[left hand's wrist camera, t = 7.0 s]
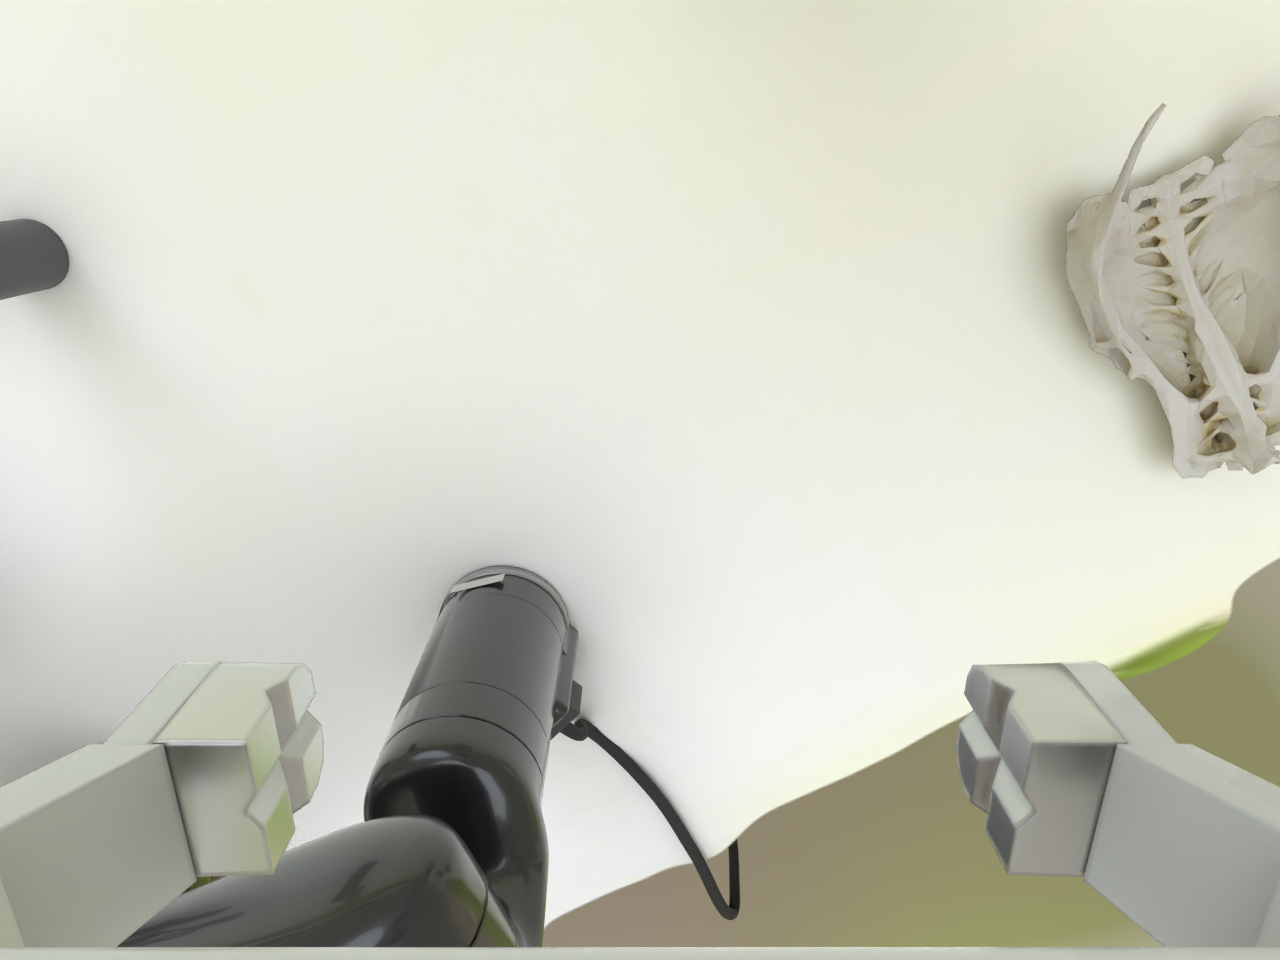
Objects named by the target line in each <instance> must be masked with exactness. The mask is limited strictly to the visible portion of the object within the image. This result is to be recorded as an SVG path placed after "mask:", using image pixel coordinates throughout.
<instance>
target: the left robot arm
mask: <svg viewBox="0 0 1280 960" xmlns="http://www.w3.org/2000/svg"><path fill="white" fill-rule="evenodd" d="M315 694H316V692H315V687H314V682H313V677H312V672H311V670H310V669H309V668H308V667H307V666H306V665H305V664H293V663H245V662H225V663H222V662H184V663H180V664H176V665H174V666H173V667H172V668H171V669H170V671H169V672H168V673H167V674H166V675H165V676H164V677H163V678H162V679H161V680H160V682H159V683H158V684H157V685H156V686H155V687H154V688H153V689H152V690H151V691H150V693H149V694H148V695H147V696H146V697H145V698H144V699H143V700H142V701H141V702H140V704H139V705H138V706H137V707H136V708H135V709H134V710H133V711H132V712H131V713H130V715H129V716H128V717H127V718H126V719H125V720H124V721H123V722H122V723H121V724H120V726H119V727H118V728H117V729H116V730H115V731H114V732H113V733H112V734H111V735H110V737H109V738H108V739H107V740H106V741H105V742H104V743H103V744H88V745H86V746H84V747H82V748H80V749H78V750H76V751H74V752H72V753H70V754H68V755H66V756H64V757H61V758H59V759H57V760H55V761H53V762H51V763H49V764H47V765H45V766H43V767H41V768H39V769H37V770H35V771H33V772H30V773H28V774H26V775H24V776H22V777H20V778H18V779H16V780H14V781H12V782H10V783H8V784H6V785H4V786H2V787H0V960H1280V787H1278V786H1276V785H1274V784H1272V783H1270V782H1268V781H1266V780H1264V779H1262V778H1260V777H1258V776H1255V775H1253V774H1251V773H1249V772H1247V771H1245V770H1243V769H1241V768H1239V767H1237V766H1235V765H1233V764H1231V763H1229V762H1227V761H1225V760H1223V759H1221V758H1218V757H1216V756H1214V755H1212V754H1210V753H1208V752H1206V751H1204V750H1202V749H1200V748H1198V747H1196V746H1194V745H1192V744H1177V743H1176V742H1175V741H1174V740H1173V739H1172V738H1171V737H1170V735H1169V734H1168V733H1167V732H1166V731H1165V730H1164V729H1163V728H1162V727H1161V726H1160V724H1159V723H1158V722H1157V721H1156V720H1155V719H1154V718H1153V717H1152V716H1151V715H1150V713H1149V712H1148V711H1147V710H1146V709H1145V708H1144V707H1143V706H1142V705H1141V704H1140V702H1139V701H1138V700H1137V699H1136V698H1135V697H1134V696H1133V695H1132V694H1131V693H1130V691H1129V690H1128V689H1127V688H1126V687H1125V686H1124V685H1123V684H1122V683H1121V682H1120V680H1119V679H1118V678H1117V677H1116V676H1115V675H1114V674H1113V673H1112V672H1111V670H1110V669H1109V668H1108V667H1107V666H1105V665H1103V664H1101V663H1099V662H1096V661H1090V662H1062V663H1045V664H997V665H972V667H971V670H970V672H969V674H968V676H967V681H966V686H965V692H964V694H965V696H966V698H967V700H968V701H969V703H970V705H971V706H972V708H973V711H972V712H971V713H970V714H969V715H968V716H967V717H966V718H965V719H964V720H963V721H962V722H961V723H960V724H959V729H958V737H957V745H956V750H957V762H958V771H959V774H960V778H961V781H962V785H963V788H964V790H965V792H966V794H967V796H968V798H969V800H970V802H971V803H972V804H974V805H975V806H977V807H978V808H979V809H981V810H982V811H984V812H985V813H987V820H986V826H985V832H986V834H987V836H988V838H989V840H990V842H991V844H992V846H993V848H994V849H995V851H996V853H997V855H998V857H999V859H1000V861H1001V863H1002V865H1003V867H1004V869H1005V871H1006V873H1007V874H1008V875H1034V876H1070V877H1084V878H1083V881H1084V882H1086V883H1087V884H1088V885H1089V886H1091V887H1092V888H1093V889H1094V890H1095V891H1097V892H1098V893H1099V894H1100V895H1101V896H1103V897H1104V898H1105V899H1106V900H1107V901H1109V902H1110V903H1111V904H1112V905H1114V906H1115V907H1116V908H1117V909H1118V910H1120V911H1121V912H1122V913H1123V914H1125V915H1126V916H1127V917H1128V918H1129V919H1131V920H1132V921H1133V922H1134V923H1135V924H1137V925H1138V926H1139V927H1140V928H1141V929H1143V930H1144V931H1145V932H1146V933H1148V934H1149V935H1150V936H1151V937H1152V938H1154V939H1155V940H1156V941H1157V942H1158V943H1160V944H1161V945H1162V946H1163V947H117V946H118V945H119V944H121V943H122V942H123V941H124V940H125V939H127V938H128V937H129V936H130V935H132V934H133V933H134V932H135V931H136V930H138V929H139V928H140V927H141V926H142V925H144V924H145V923H146V922H147V921H149V920H150V919H151V918H152V917H153V916H155V915H156V914H157V913H158V912H159V911H161V910H162V909H163V908H164V907H166V906H167V905H168V904H169V903H170V902H172V901H173V900H174V899H175V898H177V897H178V896H179V895H180V894H181V893H183V892H184V891H185V890H186V889H187V888H189V887H190V886H191V885H192V884H194V883H195V882H196V881H197V879H196V877H210V876H245V875H273V873H274V871H275V869H276V867H277V865H278V863H279V861H280V859H281V857H282V855H283V853H284V852H285V850H286V848H287V846H288V844H289V842H290V840H291V838H292V836H293V834H294V832H295V826H294V820H293V813H295V812H296V811H298V810H299V809H301V808H302V807H303V806H305V805H306V804H308V803H309V802H310V800H311V798H312V796H313V794H314V792H315V790H316V787H317V785H318V782H319V778H320V773H321V768H322V764H323V735H322V729H321V724H320V723H319V722H318V721H317V720H316V719H315V718H314V717H313V716H312V715H311V714H310V713H309V712H308V711H307V708H308V706H309V705H310V703H311V701H312V700H313V698H314V696H315Z"/></svg>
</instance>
